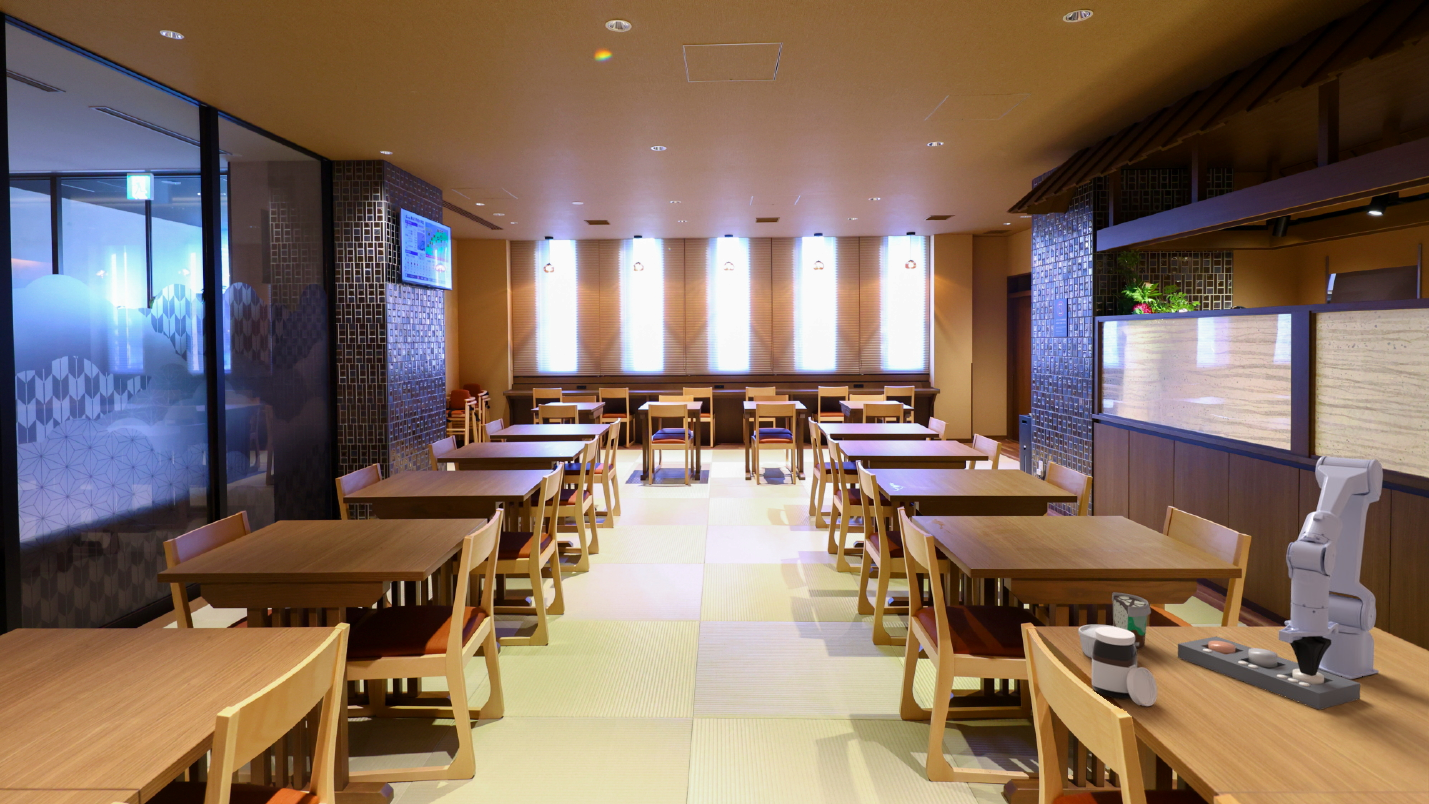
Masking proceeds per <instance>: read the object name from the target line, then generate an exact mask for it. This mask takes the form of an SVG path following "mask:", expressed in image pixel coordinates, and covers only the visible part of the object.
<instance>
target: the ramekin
mask: <svg viewBox="0 0 1429 804" xmlns="http://www.w3.org/2000/svg"><path fill="white" fill-rule="evenodd" d="M1099 627H1114V626H1113V625H1107V624H1086V625H1082V626H1080V627H1079V628H1078V636H1079V640H1080V646H1081V650H1082V653H1083V654H1084V655H1085V656H1086V657H1088V658H1090V659H1092V647H1093V644H1094V641H1095V639H1096V637H1095V630H1096V629H1097V628H1099ZM1116 628H1119V627H1116ZM1121 629H1122V628H1121ZM1134 642H1135V641H1134Z"/></svg>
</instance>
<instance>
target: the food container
mask: <svg viewBox="0 0 1429 804" xmlns="http://www.w3.org/2000/svg"><path fill="white" fill-rule="evenodd" d="M1111 601H1112V619H1113V620H1112V623H1113V624H1112V626H1114V627H1119V628H1122V629H1125V630H1128V631H1130V632H1132V633H1133V634H1134V635H1135V642H1134V645H1135V647H1136V650H1140V649H1143V648H1144V647H1145V642H1146V633H1147V623H1148V620H1147V619H1148V616H1149V615H1150V614H1151V613H1152V611H1151V610H1152V609H1151V606H1150V604H1149V602H1148V600H1147V599H1144V598H1143V597H1140V596H1137V595H1134V594H1128V593H1123V592H1112V596H1111Z"/></svg>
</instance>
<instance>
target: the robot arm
mask: <svg viewBox="0 0 1429 804" xmlns="http://www.w3.org/2000/svg"><path fill="white" fill-rule="evenodd" d="M1314 475H1315V479H1316V481H1317V483H1318V484H1317V485H1318V487H1319V488H1320V489H1321V490H1320V495H1319V498H1318V499H1319V500H1318V504H1317V507H1316V511H1312V512H1310V513H1308V514H1307V515H1306V518H1305V520H1304V523H1303V526H1302V528H1301V531H1300V533H1299V535H1298V538H1297V540H1295V541H1294V542H1293V541H1291V542H1290V543H1289V544H1288V547H1287V551H1286V557H1285V559H1286V565H1287V568H1288V577H1289V579H1291V582H1290V583H1291V588H1290V591H1291V592H1290V595H1291V596H1290V619H1289V620H1285V621H1284V626H1285V627H1284V628H1282V629H1279V630H1278V640H1279V641H1282V642H1284V643H1288V644H1289V645H1290V647H1291V648H1292V650H1293V653H1294V655H1295V657H1296V660H1297V661H1296V663H1298V665H1299V669H1300V672H1301V673H1304V674H1307V675H1310V676H1314V675H1316V674H1317V671H1318V670H1321V671H1324V672H1327V673H1330V674H1333V675H1336V676H1339V677H1341V676H1342V678H1345V679H1349V680H1353V679H1354V680H1355V679H1357V678H1362V676H1363V677H1366V676H1370V675H1374V674H1379V670H1378V669H1376V668H1374V664H1375V663H1374V660H1375V659H1374V658H1375V640H1374V638H1373V635H1372V634H1371V632H1370V631H1371V630H1373V628H1374V627H1375V624H1376V618H1377V609H1376V597H1375V595H1374V593H1373V592H1371V590H1370V589H1368V588H1367V587H1365V586H1364V585H1363V584H1362V583H1361V582H1360V577H1361V567H1362V558H1363V551H1364V550H1363V549H1364V541H1365V540H1364V539H1365V529H1366V521H1367V513H1368V509H1369V506H1370V504H1371V503H1376V502H1378V501H1379V500H1380V497H1381V494H1382V488H1383V478H1384V471H1383V466H1382V463H1381V462H1379V460H1378V459H1375V458H1373V459H1366V458H1365V459H1364V458H1351V457H1350V458H1348V457H1333V456H1328V455H1322V456H1320V458H1318V459H1317V462H1316V464H1315V474H1314ZM1333 593H1337V594H1333ZM1338 594H1340V595H1338ZM1341 594H1343V595H1341ZM1345 595H1348V596H1345ZM1349 596H1350V597H1349ZM1351 596H1354V597H1358V598H1354V597H1351Z"/></svg>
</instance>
